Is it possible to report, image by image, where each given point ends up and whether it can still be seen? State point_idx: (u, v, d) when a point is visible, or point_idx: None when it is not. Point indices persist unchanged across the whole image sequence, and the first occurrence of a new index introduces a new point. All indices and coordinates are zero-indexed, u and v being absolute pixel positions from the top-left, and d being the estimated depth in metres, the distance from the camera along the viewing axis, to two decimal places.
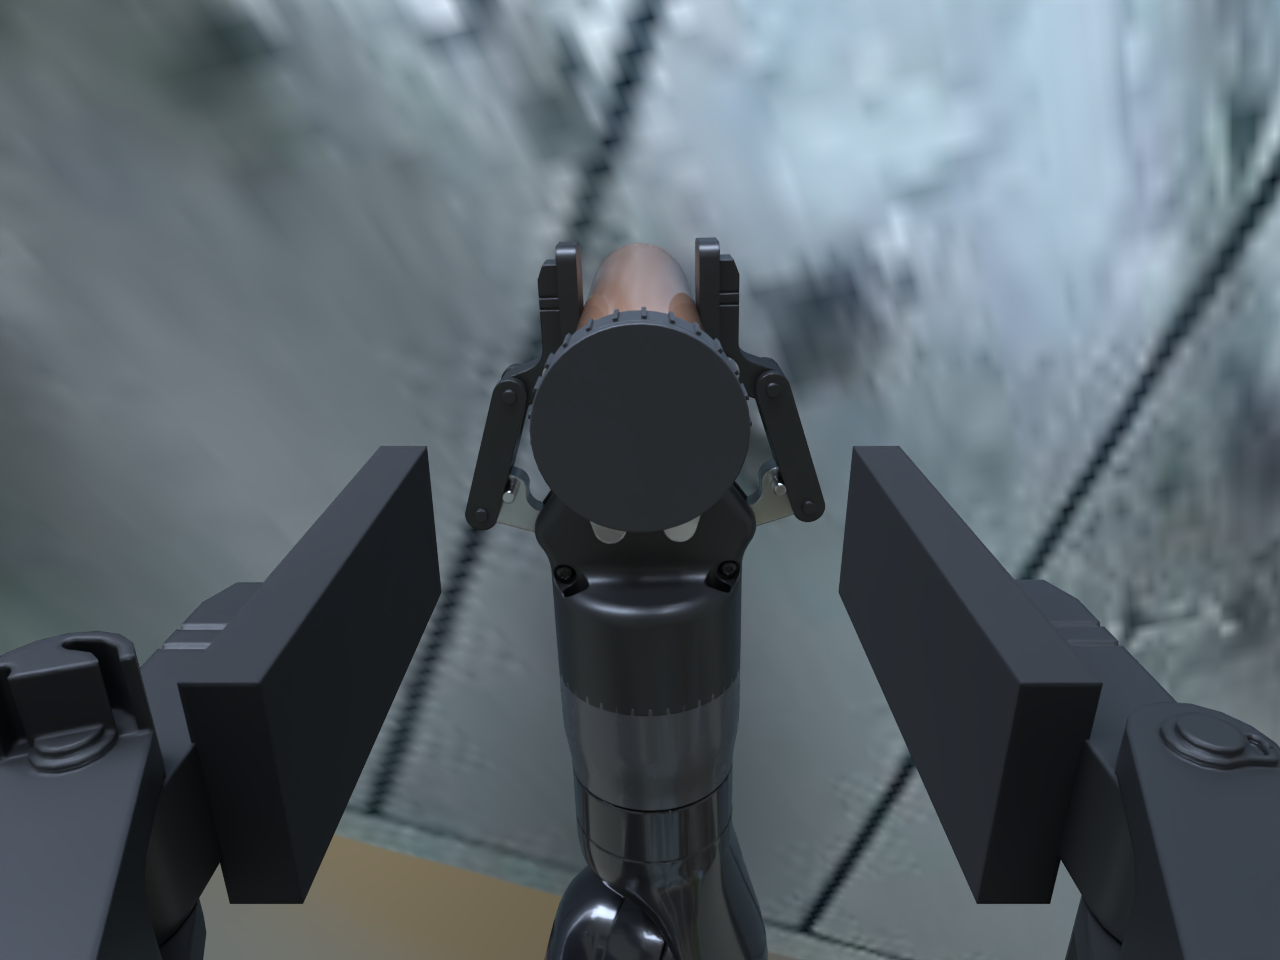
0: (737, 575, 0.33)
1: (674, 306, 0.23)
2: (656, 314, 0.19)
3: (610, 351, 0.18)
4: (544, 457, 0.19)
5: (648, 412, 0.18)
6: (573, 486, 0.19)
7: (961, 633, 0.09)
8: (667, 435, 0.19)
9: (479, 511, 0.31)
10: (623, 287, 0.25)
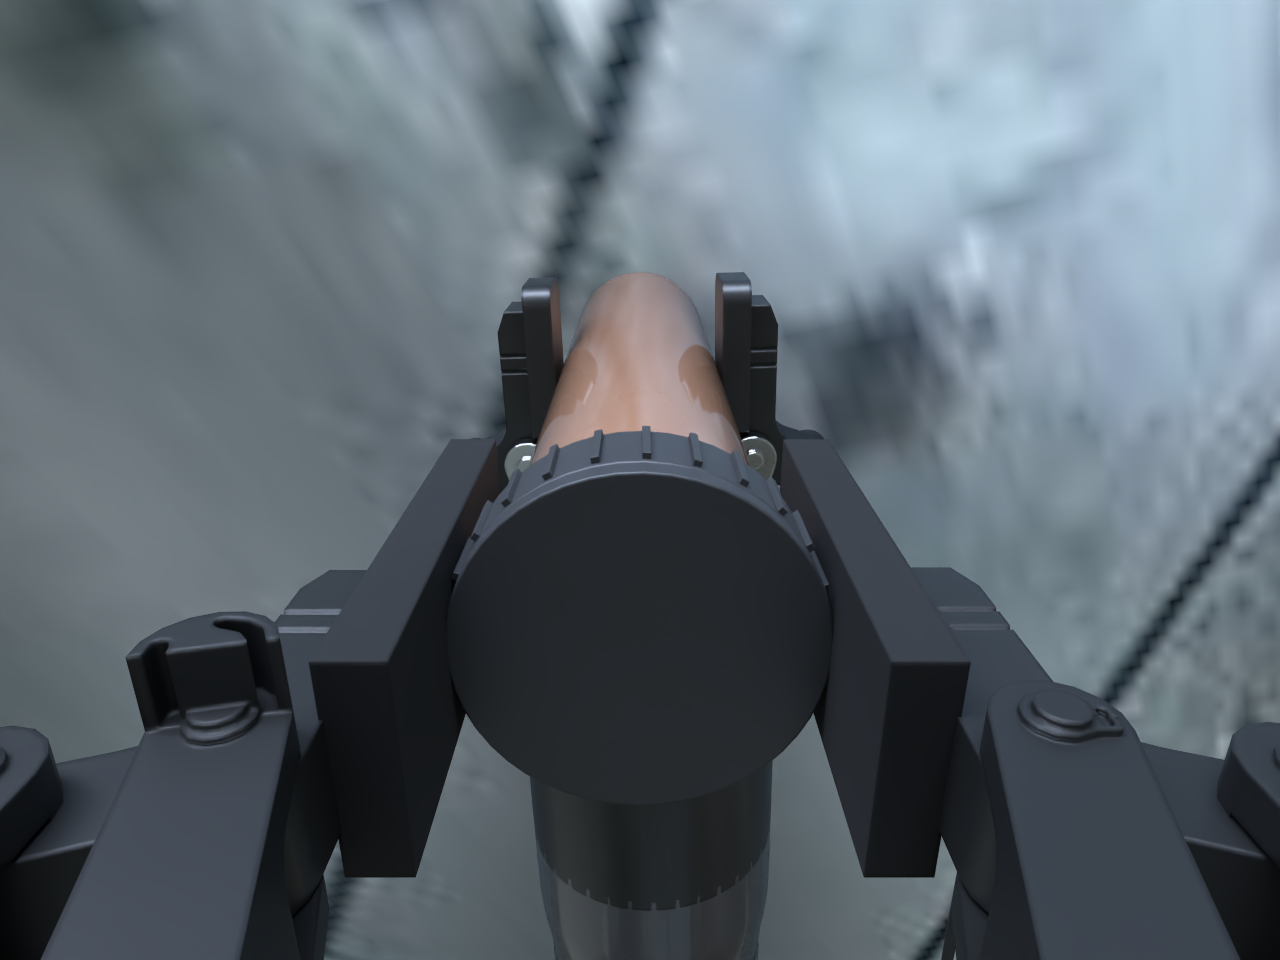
0: None
1: (693, 394, 0.15)
2: (668, 442, 0.11)
3: (586, 520, 0.10)
4: (472, 691, 0.11)
5: (654, 621, 0.10)
6: (524, 736, 0.11)
7: (854, 617, 0.09)
8: (688, 657, 0.11)
9: None
10: (615, 355, 0.17)
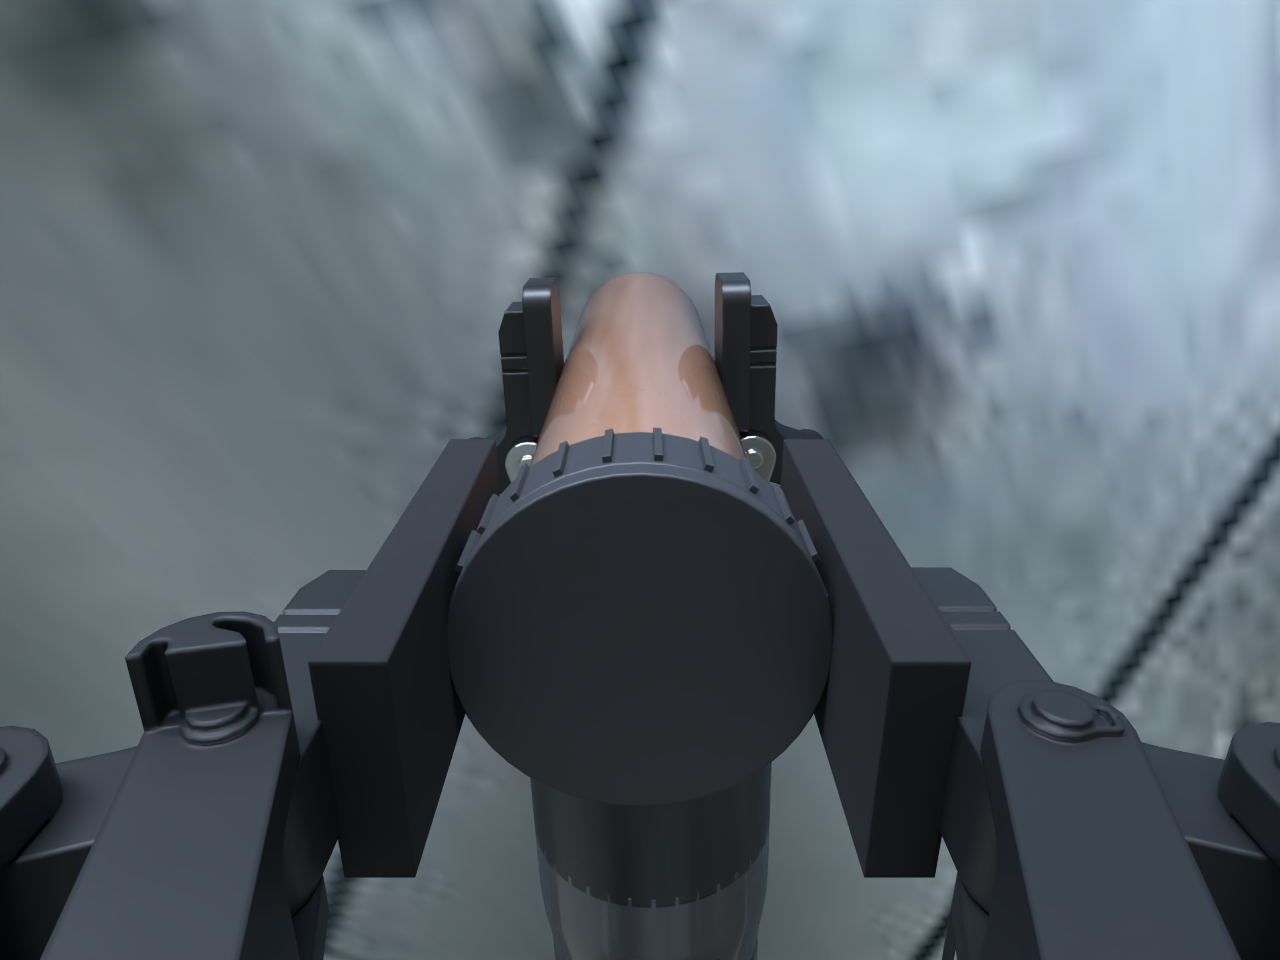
0: None
1: (692, 393, 0.15)
2: None
3: (490, 682, 0.11)
4: (663, 792, 0.11)
5: (605, 638, 0.10)
6: (720, 761, 0.11)
7: (854, 617, 0.09)
8: (649, 613, 0.10)
9: None
10: (615, 355, 0.17)
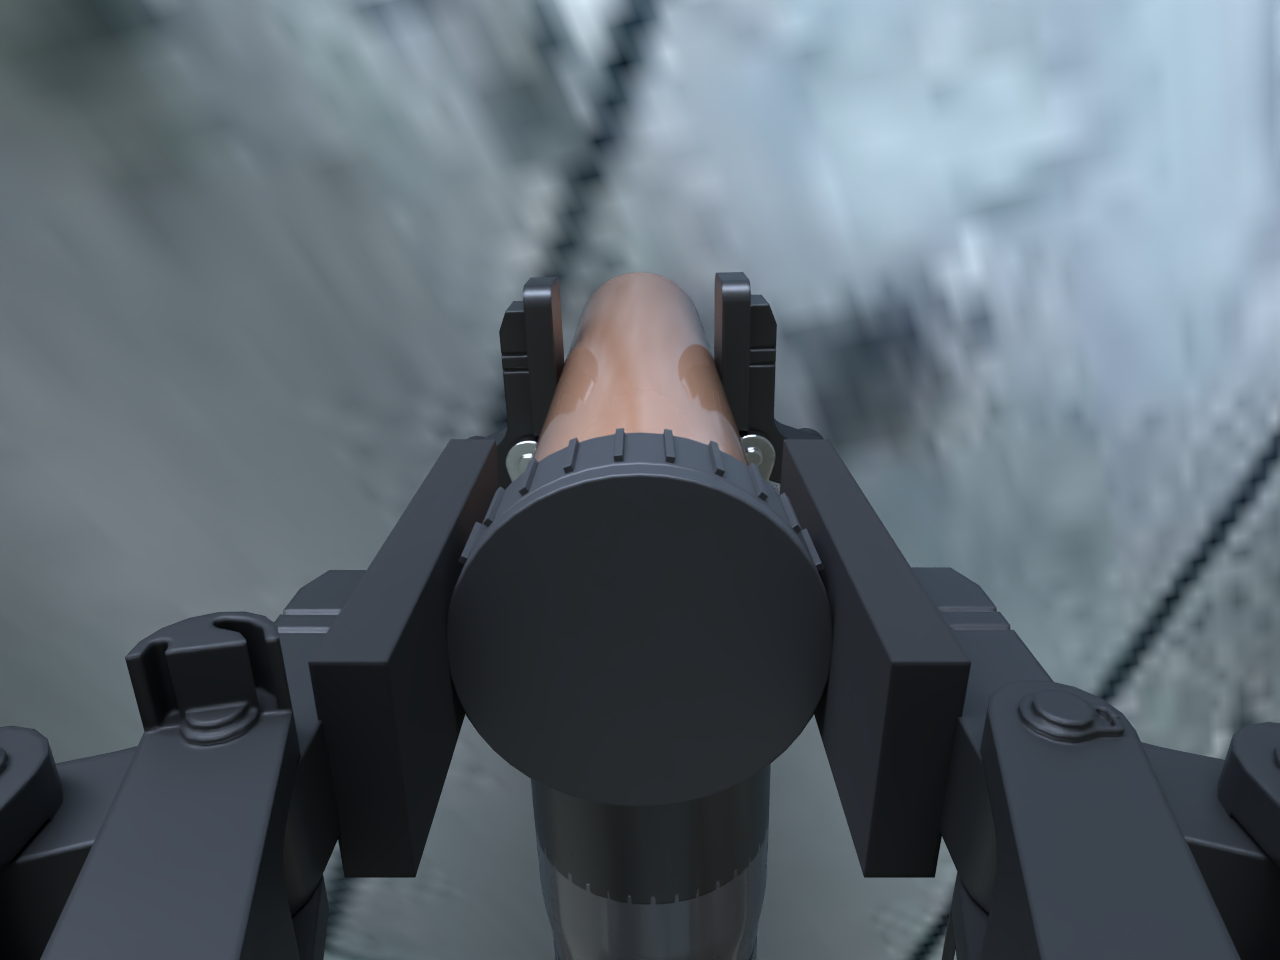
0: None
1: (692, 392, 0.15)
2: None
3: (652, 778, 0.11)
4: (816, 651, 0.11)
5: (617, 682, 0.11)
6: (784, 594, 0.10)
7: (854, 617, 0.09)
8: (593, 642, 0.10)
9: None
10: (615, 354, 0.17)
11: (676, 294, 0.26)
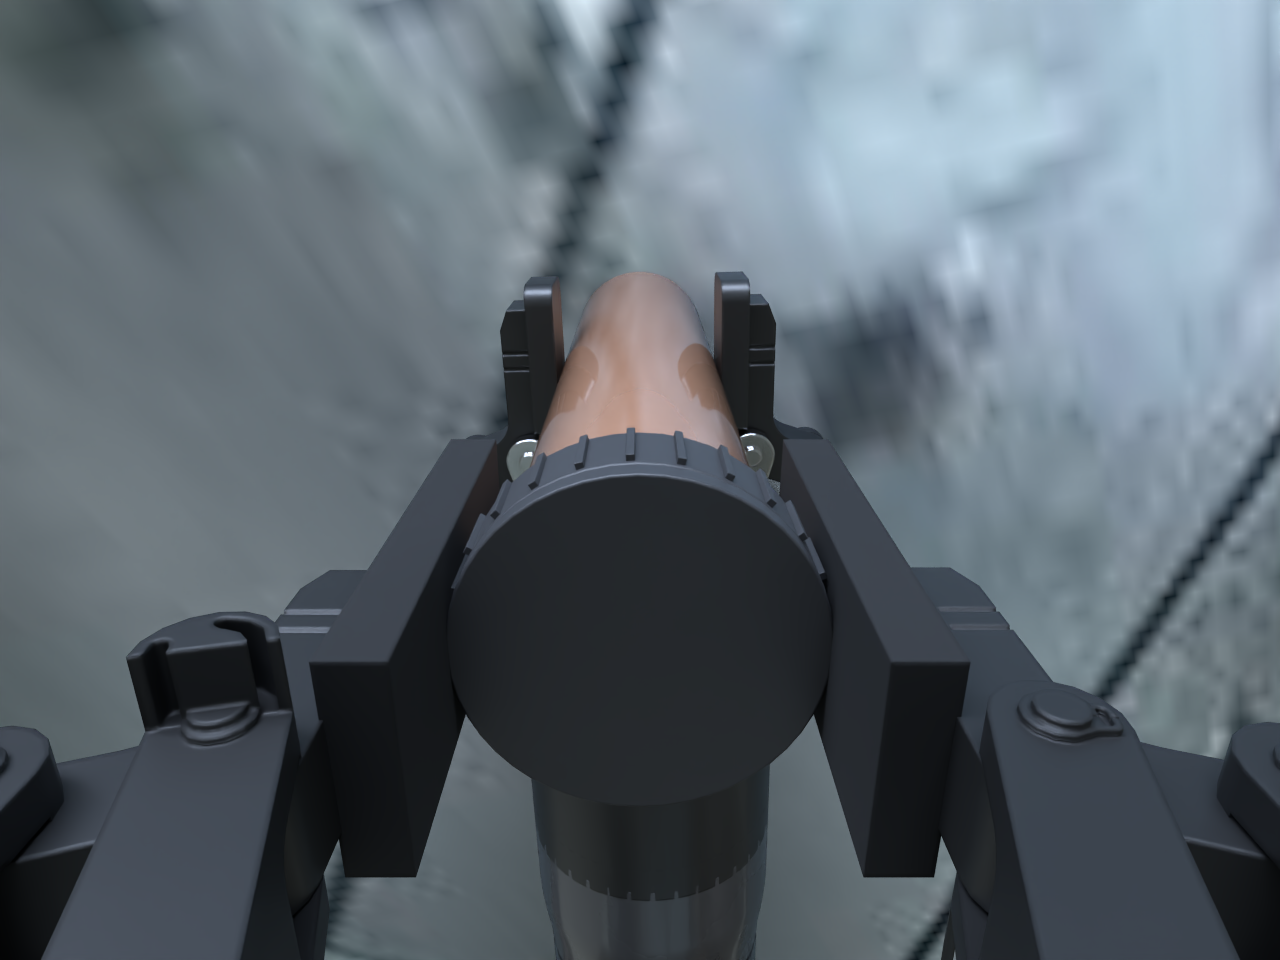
0: None
1: (692, 390, 0.15)
2: None
3: (793, 659, 0.11)
4: (657, 492, 0.10)
5: (668, 677, 0.11)
6: (583, 520, 0.10)
7: (853, 617, 0.09)
8: (619, 692, 0.11)
9: None
10: (616, 353, 0.17)
11: (676, 294, 0.26)
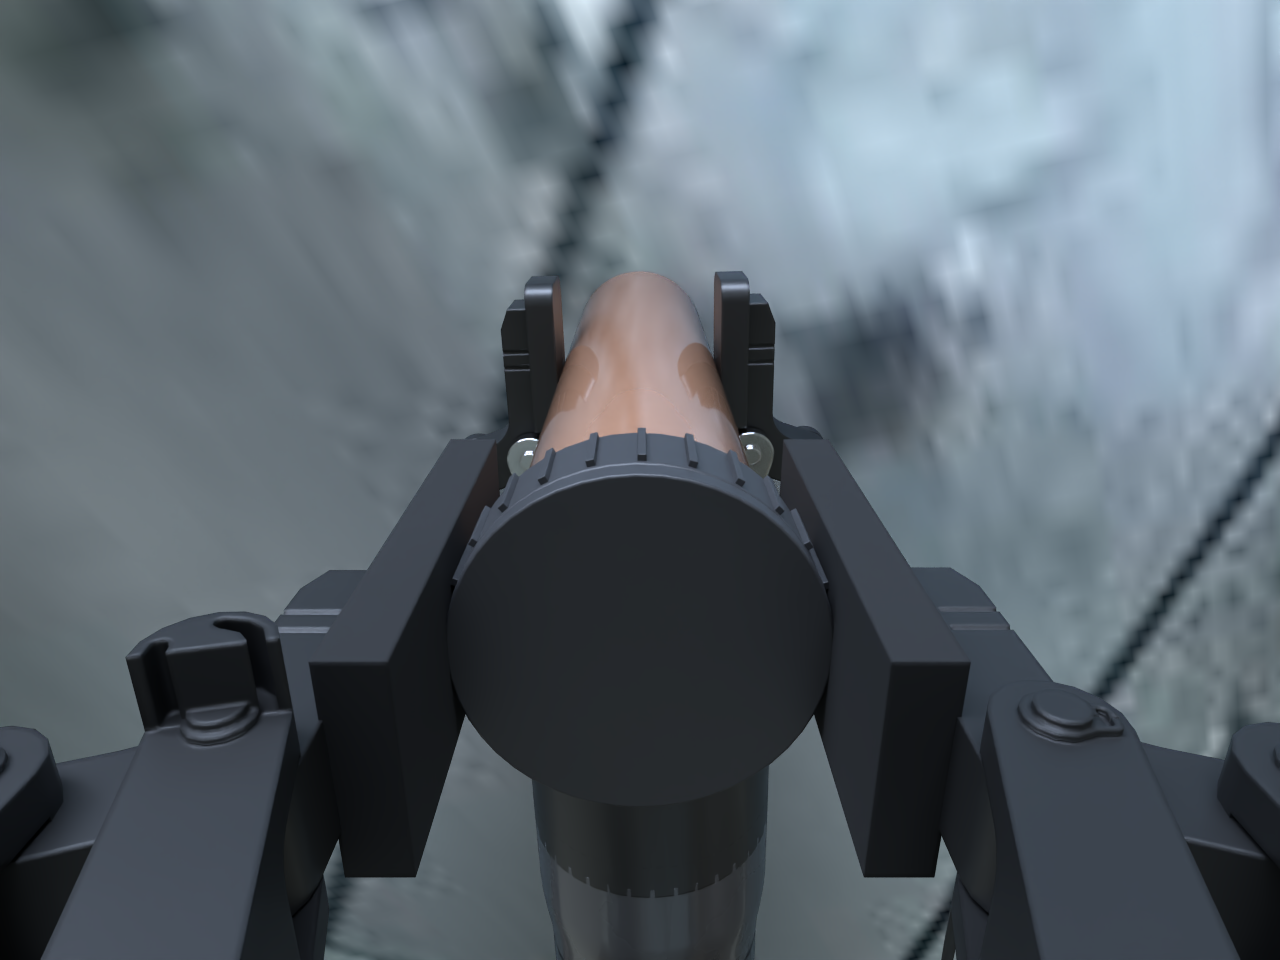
0: None
1: (691, 389, 0.15)
2: (750, 476, 0.11)
3: (664, 516, 0.10)
4: (464, 622, 0.10)
5: (669, 633, 0.10)
6: (488, 684, 0.11)
7: (853, 617, 0.09)
8: (680, 677, 0.11)
9: None
10: (616, 351, 0.17)
11: (676, 293, 0.26)
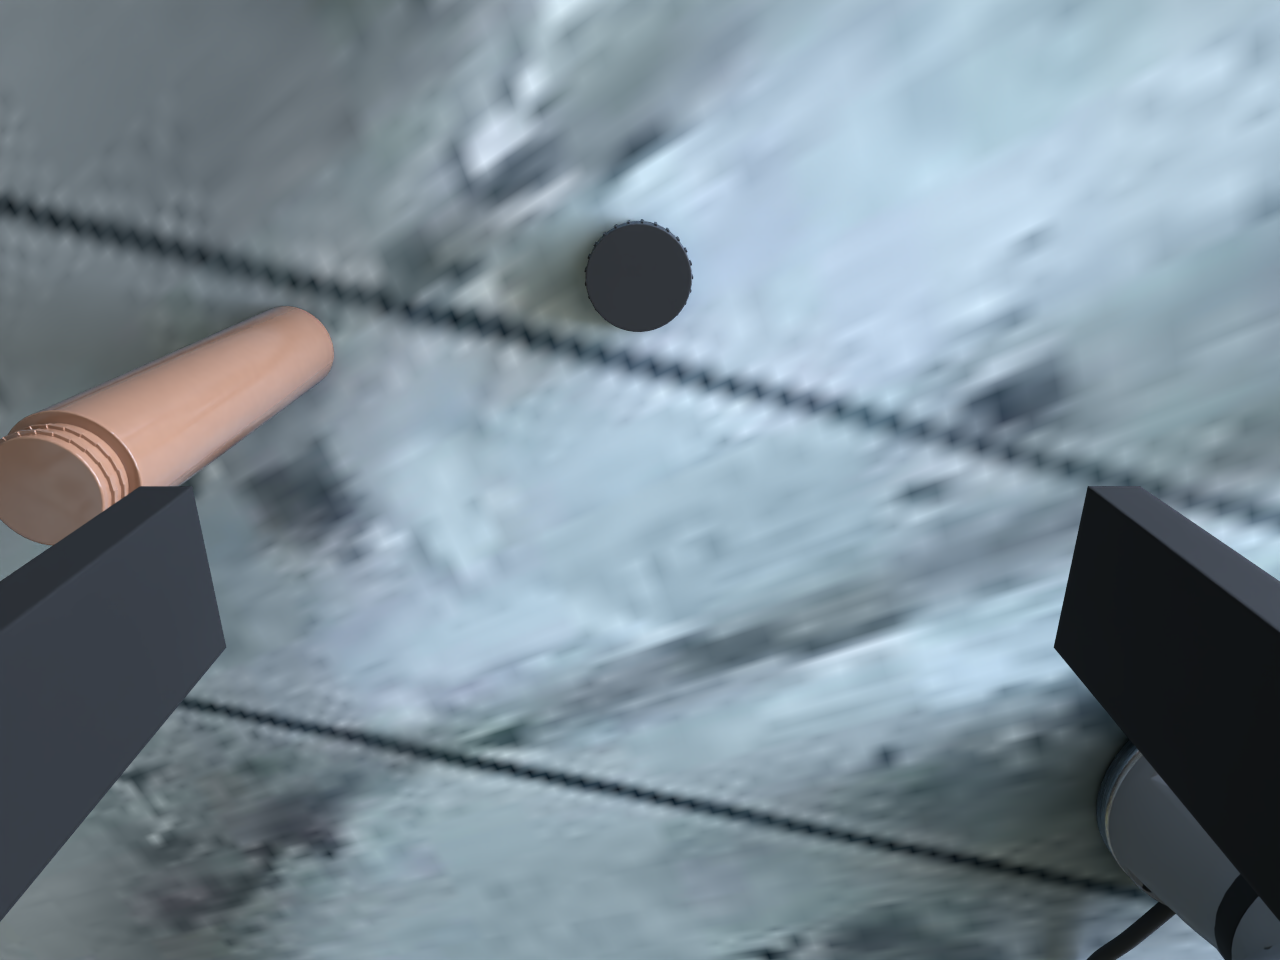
0: None
1: (198, 458, 0.29)
2: (600, 239, 0.39)
3: (597, 267, 0.38)
4: (623, 324, 0.39)
5: (632, 270, 0.38)
6: (643, 321, 0.39)
7: None
8: (647, 268, 0.38)
9: None
10: (220, 400, 0.30)
11: (314, 378, 0.39)
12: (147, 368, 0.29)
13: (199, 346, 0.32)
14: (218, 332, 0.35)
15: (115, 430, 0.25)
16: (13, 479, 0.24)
